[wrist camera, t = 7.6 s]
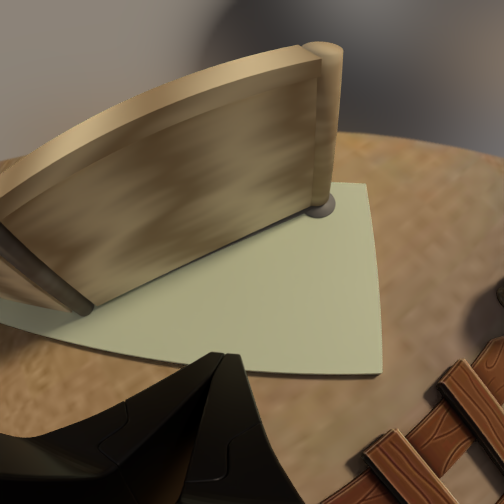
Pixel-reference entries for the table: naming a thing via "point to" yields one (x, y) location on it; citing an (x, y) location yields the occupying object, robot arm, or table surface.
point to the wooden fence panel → (35, 279)
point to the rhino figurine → (501, 295)
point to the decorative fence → (437, 438)
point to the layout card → (250, 300)
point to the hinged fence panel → (179, 170)
